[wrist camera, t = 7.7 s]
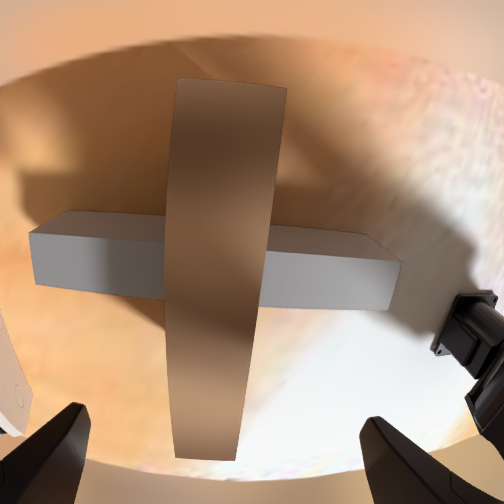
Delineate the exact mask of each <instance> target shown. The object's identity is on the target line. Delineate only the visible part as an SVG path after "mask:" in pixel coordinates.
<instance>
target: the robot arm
mask: <svg viewBox="0 0 504 504" xmlns="http://www.w3.org/2000/svg"><path fill="white" fill-rule="evenodd" d="M497 300H498V296H497V295H495V294H459V295H458V296H457V297H456V299H455V301H454V304H453V306H452V309H451V312H450V314H449V317H448V319H447V322H446V324H445V326H444V329H443V331H442V334H441V336H440V338H439V340H438V343H437V345H436V347H435V349H434V354H435V355H436V356H444V355H450V354H452V356H453V357H454V358H455V359H456V360H457V361H458V362H459V363H460V365H461V366H463V367H464V368H465V369H466V370H467V371H468V372H469V373H470V374H471V376H472V377H473V378H474V379H475V380H476V379H478V381H477V382H476V384H475V385H474V386H473V388H472V389H471V391H470V392H468V393H467V395H466V396H465V397H464V398H465V400H466V403H467V405H468V407H469V410H470V412H471V414H472V417H473V419H474V422H475V424H476V427H477V429H478V431H479V433H480V435H482V436H483V437H484V438H486V439H487V440H488V441H490V442H491V443H492V444H493V445H494V446H495V448H496V449H497V450H498V452H499V453H500V455H501V456H502V458H503V460H504V316H503V315H501V314H500V313H499V312H498V311H496V310H495V309H494V308H495V305H496V303H497ZM90 428H91V420H90V417H89V414H88V411H87V408H86V406H85V405H84V404H81V403H77V402H72V403H71V404H69V405H68V406H67V407H66V408H64V409H63V410H62V411H61V412H60V413H58V414H57V415H56V416H55V417H53V418H52V419H51V420H50V421H48V422H47V423H46V424H45V425H44V426H42V427H41V428H40V429H39V430H37V431H36V432H35V433H34V434H33V435H31V436H30V437H29V438H28V439H26V440H25V441H24V442H23V443H21V444H20V445H19V446H18V447H17V448H15V449H14V450H13V451H12V452H10V453H9V454H8V455H7V456H5V457H4V458H3V460H0V504H74V502H75V497H76V494H77V490H78V486H79V483H80V479H81V475H82V472H83V467H84V463H85V457H86V451H87V445H88V439H89V433H90ZM359 438H360V444H361V449H362V455H363V461H364V467H365V472H366V476H367V480H368V483H369V486H370V490H371V494H372V497H373V501H374V504H504V501H500V500H498V499H496V498H494V497H492V496H490V495H488V494H487V493H485V492H483V491H481V490H480V489H478V488H476V487H474V486H472V485H471V484H469V483H468V482H466V481H465V480H463V479H462V478H460V477H459V476H457V475H456V474H455V473H453V472H452V471H450V470H449V469H448V468H447V467H445V466H444V465H442V464H441V463H440V462H438V461H437V460H436V459H434V458H433V457H432V456H431V455H429V454H428V453H427V452H425V451H424V450H423V449H421V448H420V447H419V446H417V445H416V444H415V443H414V442H412V441H411V440H410V439H408V438H407V437H406V436H405V435H403V434H402V433H401V432H400V431H398V430H397V429H396V428H394V427H393V426H392V425H391V424H389V423H388V422H387V421H386V420H384V419H383V418H382V417H380V416H375V417H369V418H368V419H367V420H366V422H365V424H364V426H363V428H362V429H361V431H360V435H359Z"/></svg>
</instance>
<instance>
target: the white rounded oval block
mask: <svg viewBox="0 0 504 504" xmlns="http://www.w3.org/2000/svg"><path fill="white" fill-rule="evenodd" d="M32 397H33V392H32V390H31V388H30V385H29V383H28V381H27V379H26V377H25V374H24V372H23V370H22V368H21V365H20V363H19V360H18V358H17V355H16V353H15V350H14V348H13V345H12V343H11V340H10V337H9V334H8V331H7V329H6V326H5V323H4V320H3V316H2V313H1V310H0V436H4V435H5V434H6V433H8V434H10V435H11V436H12V437H15V436H20V435H23V434H25V433H26V428H27V422H28V417H29V412H30V407H31V402H32Z"/></svg>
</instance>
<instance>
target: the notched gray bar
mask: <svg viewBox="0 0 504 504" xmlns="http://www.w3.org/2000/svg"><path fill="white" fill-rule="evenodd" d="M165 223H166V216H160V215H145V214H129V213H112V212H94V211H73V210H67V211H66V212H64V213H62V214H60V215H58V216H57V217H55V218H53V219H51V220H49V221H48V222H46V223H44V224H42V225H41V226H39V227H37V228H36V229H34V230H32V231H31V232H29V241H30V250H31V258H32V265H33V271H34V278H35V283H36V285H43V286H49V287H56V288H63V289H71V290H78V291H86V292H94V293H102V294H111V295H120V296H129V297H138V298H148V299H159V300H165V288H164V270H165ZM401 265H402V261H401V260H399V259H398V258H397V257H396V256H394V255H393V254H392V253H390V252H389V251H388V250H386V249H385V248H384V247H382V246H381V245H380V244H379V243H377V242H376V241H375V240H373V239H372V238H370V237H369V236H368V235H366V234H359V233H351V232H341V231H332V230H323V229H313V228H303V227H293V226H283V225H272V224H270V227H269V234H268V242H267V249H266V256H265V264H264V271H263V278H262V285H261V292H260V299H259V306H258V307H272V308H296V309H329V310H388V308H389V305H390V302H391V299H392V296H393V293H394V289H395V286H396V283H397V279H398V276H399V273H400V269H401Z"/></svg>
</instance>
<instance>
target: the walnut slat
mask: <svg viewBox="0 0 504 504" xmlns="http://www.w3.org/2000/svg"><path fill="white" fill-rule="evenodd" d="M286 93H287V88H281V87H274V86H267V85H260V84H251V83H243V82H233V81H222V80H208V79H190V78H178V81H177V89H176V96H175V105H174V113H173V123H172V133H171V143H170V155H169V168H168V183H167V200H166V223H165V270H164V288H165V335H166V358H167V375H168V389H169V402H170V413H171V424H172V433H173V442H174V451H175V458H185V459H199V460H220V461H235V458H236V452H237V446H238V439H239V433H240V427H241V420H242V414H243V407H244V401H245V394H246V388H247V381H248V375H249V368H250V361H251V355H252V348H253V341H254V334H255V327H256V320H257V313H258V306H259V299H260V292H261V285H262V278H263V271H264V264H265V256H266V249H267V242H268V234H269V227H270V219H271V212H272V204H273V197H274V189H275V181H276V173H277V166H278V158H279V150H280V142H281V134H282V126H283V117H284V109H285V101H286Z"/></svg>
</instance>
